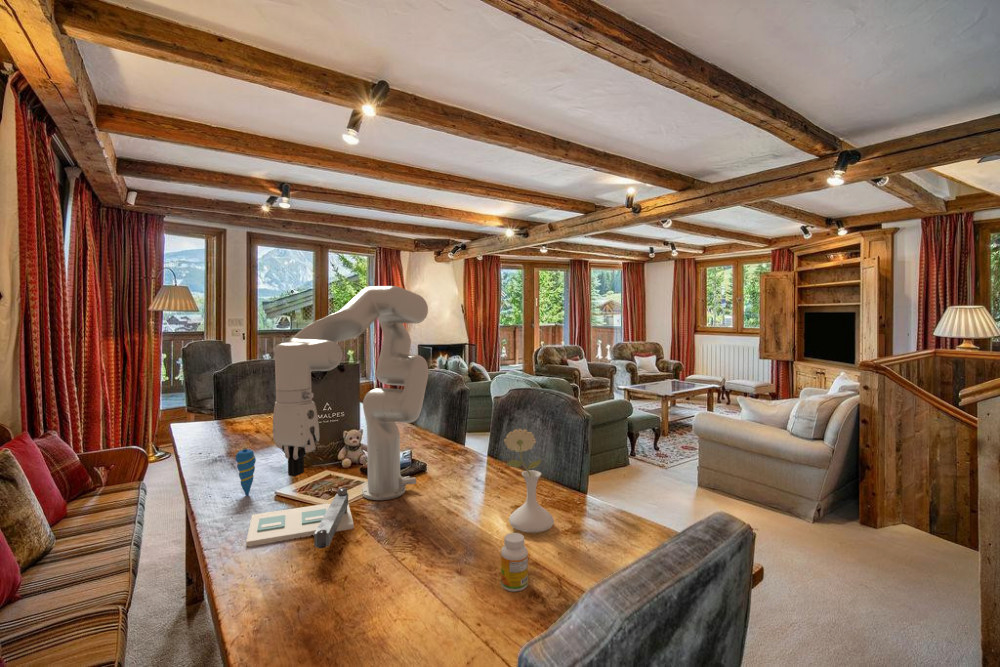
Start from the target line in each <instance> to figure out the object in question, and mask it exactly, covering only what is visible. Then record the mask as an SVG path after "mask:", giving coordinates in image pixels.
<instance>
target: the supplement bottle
mask: <svg viewBox="0 0 1000 667" xmlns="http://www.w3.org/2000/svg"><path fill="white" fill-rule="evenodd" d="M528 553H529V551H528V548H527V547H526V546H525V536H524V535H523V534H522V533H519V532H510V533H507V534H506V535H505V536H504V545H503V546H502V548H501V549H500V585H501V587H502V588H503V589H504V590H506V591H508V592H512V593H513V592H515V593H516V592H520V591H523V590H525V589H526V588H527V587H528V582H529V581H528V580H529V575H528V574H529V573H528V572H529V566H528V565H529V563H528V562H529V560H528V559H529V558H528V557H529V554H528Z"/></svg>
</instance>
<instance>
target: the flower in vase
mask: <svg viewBox="0 0 1000 667" xmlns="http://www.w3.org/2000/svg"><path fill="white" fill-rule="evenodd" d="M534 436H535V435H534V434H533V432H532V431H528V430H527V429H522V428H518V429H513V431H509V433H507V434H506V435H505V438H504V439H503V442H504V443H505V444H504V445H505V446H506V448H507V449H508V450H510V451H515V452H516V453H520V460H518V459H511V460H509V461H508V462H507V463H506V464H505V466H507V467H512V468H519V467H521V466H523V467H524V468H525V470H524V471H522V472H521V475H522V477H523V479H524V481H525V484H526V499H525V502H524V503H523V504H522V505H521V506H519V507H518V508H516V509H515V510H514V511H513V512H512V513H511V514H510V516H509V518H508V522H509V525H510V526H511V527H512V528H513V529H515V530H517V531H519V532H523V533H527V534H529V533H530V534H532V533H533V534H534V533H536V534H537V533H541V532H546V531H549V529H551V528H552V526H553V525H554V524H555V520H554V517H553V516H552V514H551V513H550V512H549V511H548V510H547V509H545V508H544V507H542V505H540V504H539V503H538V501H537V485H538V481H539V479H540V478H541V476H542V472H541V471H538V470H532V469H536V468H537V467H538V466H539V465H540V464H541V462H542V459H538V460H535V461H532V462H530V463H529V464H528V467H527V466H526V464H525V463H524V461H523V458H522V457H523V456H522V453H523V452H527V451H528V450H532V449H533V447H534V446H535V444H537V442H536V437H534Z"/></svg>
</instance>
